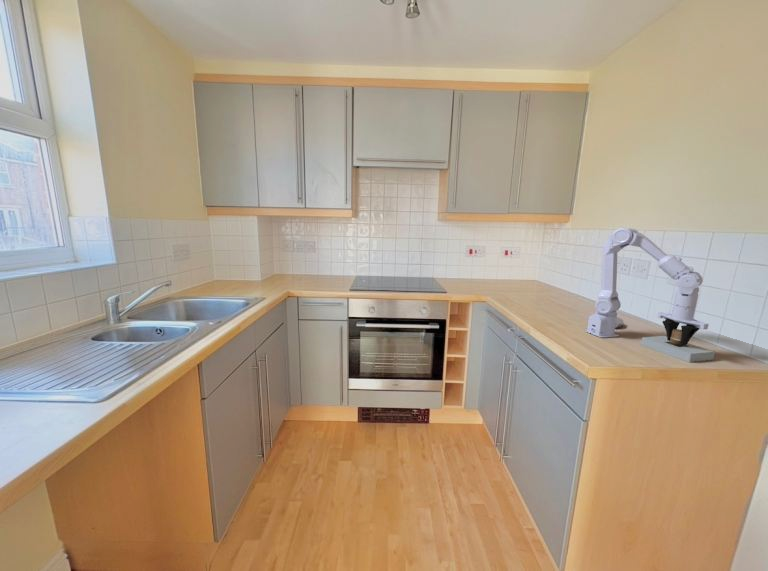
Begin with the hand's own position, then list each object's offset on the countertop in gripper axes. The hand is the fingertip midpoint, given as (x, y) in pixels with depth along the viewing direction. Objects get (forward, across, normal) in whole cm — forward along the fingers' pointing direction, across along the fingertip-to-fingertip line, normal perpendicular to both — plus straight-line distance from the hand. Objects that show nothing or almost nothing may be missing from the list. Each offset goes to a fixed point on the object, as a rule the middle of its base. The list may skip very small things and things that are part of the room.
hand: (676, 342), depth 113 cm
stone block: (+4, +31, -6) cm, 32 cm away
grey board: (+4, 0, 0) cm, 4 cm away
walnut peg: (+2, 0, 0) cm, 2 cm away
